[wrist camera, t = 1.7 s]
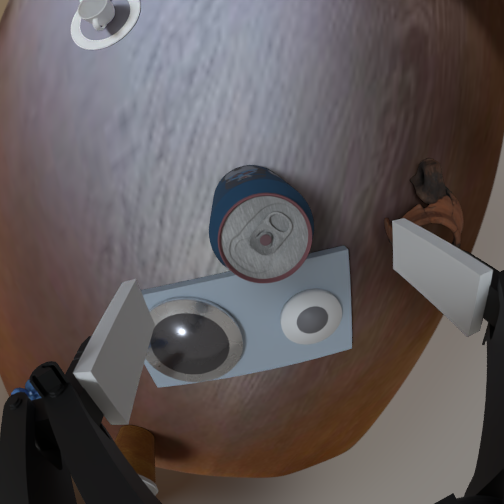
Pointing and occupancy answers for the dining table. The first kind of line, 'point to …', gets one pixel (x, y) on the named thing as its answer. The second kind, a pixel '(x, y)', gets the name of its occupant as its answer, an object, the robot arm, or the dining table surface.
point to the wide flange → (193, 339)
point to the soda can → (260, 225)
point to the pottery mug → (433, 202)
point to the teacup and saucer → (101, 22)
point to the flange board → (276, 313)
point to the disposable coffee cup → (139, 452)
